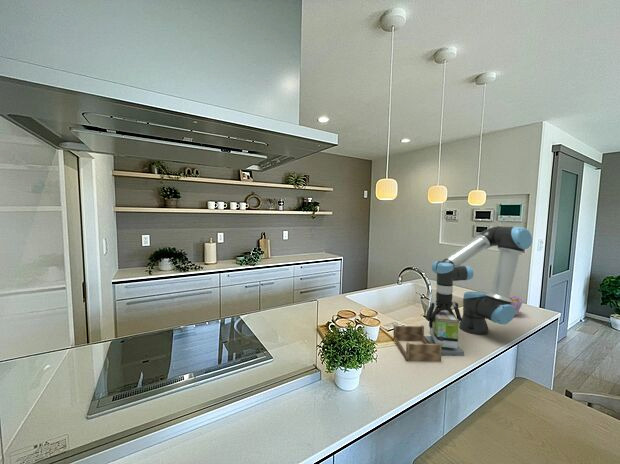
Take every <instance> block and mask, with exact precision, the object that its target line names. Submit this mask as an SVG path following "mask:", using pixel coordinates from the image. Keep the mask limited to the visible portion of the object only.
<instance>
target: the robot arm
mask: <svg viewBox="0 0 620 464" xmlns="http://www.w3.org/2000/svg"><path fill="white" fill-rule="evenodd" d="M532 244H533V237H532V234H531V232H530V230H529V229H527V228H526V227H521V226H502V225H500V226H499V225H498V226H493V227H490V228H487V229H485V230H484V231H481V232H480V233H477V234H476V235H475V236H474V239H472V240H471V241H469V242H468V243H466V244H465V245H464V246H462V247H460V248H459V249H457V250H455V251H454V252H453V253H451V254H450V255H449V256H447V257H446V258H444V259H443V260H441V261H440V260H435V261H433V262H432V264H431V269H432V272H434V273H435V274H436V293H435V299H436V301H435V302H433V301H430V302H429V307H428V310H427V312H426V315H425V320H426V321H427V322H428V327H429V329H430V328H431V333H432V334H433V335H434V324H435V323H434V322H433V321H434V319H435V315H438V314H439V312H441V310H442V311H444V310H446V311H449V313H450V314H452V315H454V316H455V317H456V318H457V319H458V320H459V326H458V328H459V329H461V331H464V332H466V333H468V334H472V335H478V336H483V335H485V336H486V335H488V334H489V327H488V323H487V320H489V321H491V322H493V323H496V324H499V325H508V324H509V323H510V322H511V321H512V320H513V319H514V318H515V315H516V314H515V310H514V307H513V306H512V305H511V303H512V301H511V300H510V298H509V296H510V295H511V291H512V287H513V282H514V279H515V273H516V270H517V266H518V261H519V257H520V255H523V253H524V251H525V250H528V249H529V248H530V247H531V246H532ZM491 247H497V250H498V251H499V255H498V259H497V263H496V267H495V272H494V276H493V280H492V283H491V284H492V285H491V289H490V292H489V293H485V292H482V291H481V292H480V291H466V292H464V293H463V298H462V300H463V302H462V315H461V313H460V309H459V303H458V302H456V301H454V302H453V288H454V286H453V284H454V282H456V281H457V282H459V281H469V280H471V279H472V278H473V277H474V270H473V268H472V267H471V266H469V265H463V264H464V263H466V262H467V261H470V259H471V258H473V257H474V256H476V255H477V254H478V253H480V252H482V251H483V250H484V249H485V250H487V249H489V248H491ZM452 306H453V308H452ZM434 309H435V311H434V312H433V310H434ZM453 310H454V311H453ZM432 313H433V314H432Z"/></svg>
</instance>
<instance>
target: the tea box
mask: <svg viewBox="0 0 620 464" xmlns="http://www.w3.org/2000/svg"><path fill="white" fill-rule="evenodd" d="M434 311H435V308H434V310H433V312H434ZM432 314H433V313H432ZM455 316H456V315H455ZM455 316H454V315H452V314H450V313H449V311H446V310H444V311H442V310H441V312H439V314H438V315H435V319H434V321H433V322H434V323H435V324H434V335H433V334H432V333H431V328H430V327H429V334H430V335H429V336H431V337H432V338H433V340H434V342H435V343H436V344H438V343H441V344H442V347H449V348H458V347H459V343H458V342H459V323H460V321H459V320H458V319H457V316H456V317H455Z"/></svg>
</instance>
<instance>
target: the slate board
mask: <svg viewBox="0 0 620 464" xmlns="http://www.w3.org/2000/svg"><path fill="white" fill-rule="evenodd" d="M424 338H425V340H426V341H427V342H428V343H429V344H436V343H435V342H434V340H433V338H432V337H431V335H424ZM443 356H446V357H447V356H448V357H449V356H452V357H455V356H457V357H459V356H461V357H464V356H465V351H464V350H463V349H462V348H461V347H460V346H458V348H449V347H442V354H441V357H443Z"/></svg>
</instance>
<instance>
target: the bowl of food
mask: <svg viewBox="0 0 620 464" xmlns="http://www.w3.org/2000/svg"><path fill="white" fill-rule="evenodd" d="M509 298H510V300H511V301H512V303H511V305H512V306H513V307H514V310H515V315H516V314H518V313H520V310H521V307H522V305H523V302H524V300H523V299H522V298H520V297H517V296H515V295H511V294H510V296H509Z"/></svg>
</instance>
